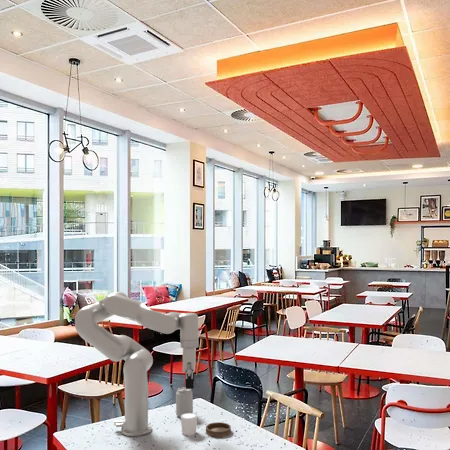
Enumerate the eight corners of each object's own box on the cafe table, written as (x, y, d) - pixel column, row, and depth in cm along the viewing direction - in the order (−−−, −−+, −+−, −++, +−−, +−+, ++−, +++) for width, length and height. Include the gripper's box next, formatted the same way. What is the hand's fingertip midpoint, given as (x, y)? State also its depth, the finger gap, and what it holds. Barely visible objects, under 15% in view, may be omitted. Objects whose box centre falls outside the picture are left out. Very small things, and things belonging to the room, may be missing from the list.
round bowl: (205, 437, 195) (205, 432, 195) (206, 427, 205) (206, 422, 205) (231, 436, 195) (231, 431, 195) (230, 427, 206) (230, 422, 206)
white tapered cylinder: (197, 429, 203) (197, 412, 204) (197, 435, 197) (197, 418, 197) (181, 429, 203) (181, 412, 204) (180, 436, 196) (180, 418, 197)
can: (173, 417, 217) (173, 390, 218) (179, 412, 224) (179, 385, 225) (189, 419, 215) (189, 391, 216) (194, 413, 223) (194, 387, 223)
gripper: (181, 339, 210) (182, 379, 209) (179, 348, 193) (179, 391, 192) (198, 339, 210) (199, 379, 210) (198, 347, 193) (198, 391, 192)
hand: (190, 385), depth 201 cm, fingers open, 9 cm apart
